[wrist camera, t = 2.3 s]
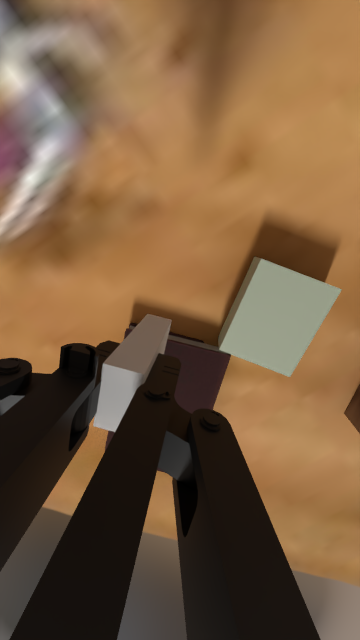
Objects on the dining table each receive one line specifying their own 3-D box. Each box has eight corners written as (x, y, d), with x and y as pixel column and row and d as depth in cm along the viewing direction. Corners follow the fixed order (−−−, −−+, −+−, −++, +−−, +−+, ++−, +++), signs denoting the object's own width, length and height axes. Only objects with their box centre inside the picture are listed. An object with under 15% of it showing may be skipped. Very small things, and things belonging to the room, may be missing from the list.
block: (254, 256, 27) (261, 258, 23) (323, 282, 27) (341, 289, 23) (217, 336, 30) (219, 349, 26) (279, 359, 30) (289, 377, 26)
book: (230, 345, 30) (232, 357, 27) (192, 462, 36) (190, 483, 33) (132, 319, 31) (123, 328, 28) (110, 439, 37) (101, 457, 34)
